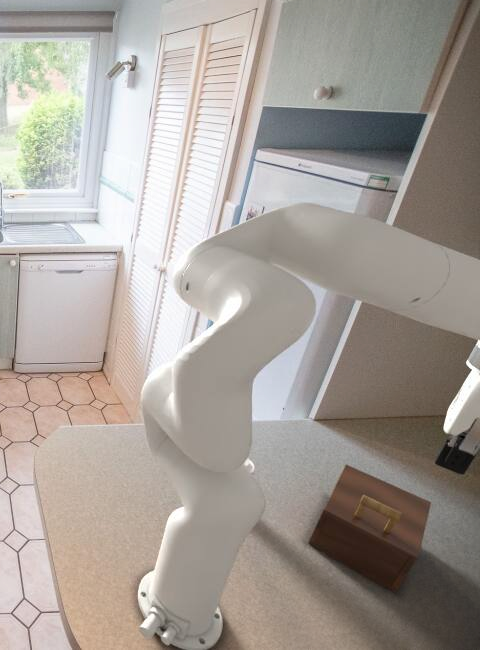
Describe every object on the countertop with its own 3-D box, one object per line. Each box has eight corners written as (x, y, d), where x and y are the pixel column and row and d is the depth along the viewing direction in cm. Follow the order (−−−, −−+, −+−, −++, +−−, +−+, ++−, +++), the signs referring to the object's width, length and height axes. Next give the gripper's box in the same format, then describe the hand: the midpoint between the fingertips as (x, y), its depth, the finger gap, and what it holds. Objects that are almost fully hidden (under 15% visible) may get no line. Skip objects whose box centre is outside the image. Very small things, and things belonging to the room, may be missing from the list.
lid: (416, 561, 72) (431, 537, 70) (322, 512, 81) (332, 490, 79) (429, 505, 82) (442, 483, 80) (344, 467, 91) (354, 446, 88)
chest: (395, 592, 76) (417, 558, 73) (307, 543, 85) (323, 509, 81) (409, 538, 86) (429, 505, 82) (329, 499, 94) (344, 467, 91)
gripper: (474, 336, 68) (422, 432, 76) (467, 373, 59) (408, 478, 67) (550, 356, 63) (486, 456, 71) (555, 399, 54) (481, 509, 62)
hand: (449, 466), depth 69 cm, fingers closed
